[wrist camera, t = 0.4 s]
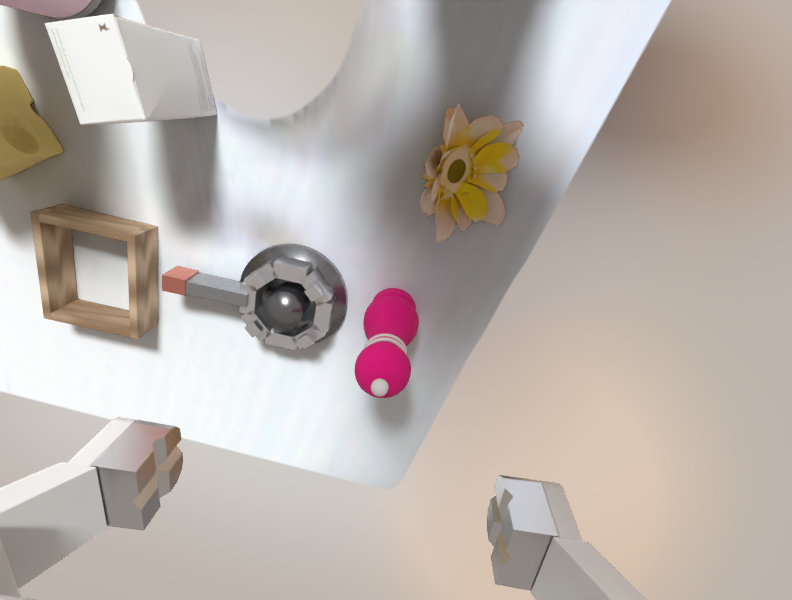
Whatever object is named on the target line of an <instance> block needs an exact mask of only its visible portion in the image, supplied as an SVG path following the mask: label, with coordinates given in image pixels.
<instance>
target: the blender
mask: <svg viewBox="0 0 792 600" xmlns="http://www.w3.org/2000/svg"><path fill="white" fill-rule="evenodd" d="M101 1H102V0H0V5H4V6H7V7H11V8H15V9H19V10H23V11H28V12H32V13H36V14H41V15H44V16H47V17H51V18H54V19H59V20H71V19H78V18H83V17H85V16H87V15H89V14H90V13H92V12H93V11H94V10H95V9H96V8H97V7H98V5H99V4H100V2H101Z"/></svg>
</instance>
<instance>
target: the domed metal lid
mask: <svg viewBox="0 0 792 600" xmlns="http://www.w3.org/2000/svg"><path fill="white" fill-rule="evenodd" d="M280 256H286V257H290V258H294V259H299V260H303V261H307V262H312V269H313V268H314V267H316V266H318V268H319V269H320V270H321V272H322V273H323V274H324V276H325V277H326V279H327V280H328V281H329V283H330V284H331V285H332V287H333V288H334V290H335V293H334V295H336V302H335V307H334V313H333V318H332V323H331V325H330V327H329V330H328V332H326V334H325V336H324V337H322V338H320V339H319V340H317V341H315V342H314V343H317V342H319V341H321V340H324V339H325V338H327V337H328V336H330V335H331V334H332V333H333V332H334V331H335V330H336V329H337V328H338V326H339V325H340V323H341V321H342V319H343V317H344V314H345V311H346V308H347V290H346V286H345V283H344V280H343V278H342V276H341V274H340V273H339V271H338V269H337V268H336V267H335V266H334V264H333V263H332V262H331V261H330V260H329V259H328V258H326V257H325V256H324V255H322V254H321V253H319V252H317V251H316V250H313V249H311V248H309V247H306V246H302V245H297V244H280V245H275V246H272V247H269V248H267V249H265V250H263V251H261V252H260V253H259V254H257V255H256V256H255V257H254V258H253V259H252V260H251V261H250V262H249V263H248V264H247V266H246V267H245V269H244V271H243V273H242V276H241V280H240V282H244V279H245V278H246V277H247V276H248V275H249V274H250V273H252V272H253V271H254V270H256V269H257V268H259V267H260V266H262V265H264V264H265V263H267V262H268V261H270V260H271V259H273V258H274V257H277V258H279V257H280ZM305 290H306V289H305V288H304V287H303V285H302V284H300V283H296V282H291V281H287V280H282V279H278V278H275V279H273V280H272V281H270V282H269V283H267V284H265V285H264V289H263V299H262V304H263V308H262V313H263V317H264V319H265V321H266V322H267V323H268V324H269V325H270V326H271V327H273V328H275V329H277V330H281V331H287V330H291V329H293V328H295V327H301V326H303V325H305V324H306V323H308V322H310V321H311V320H313V319H314V317H315V311H316V305H317V304H316V303H315V301H312V302H311V300H310V299H309V298H308V296H307V295H306V294H305V292H304V291H305Z"/></svg>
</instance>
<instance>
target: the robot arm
mask: <svg viewBox="0 0 792 600" xmlns="http://www.w3.org/2000/svg"><path fill="white" fill-rule="evenodd" d="M180 440H181V433H180V429H179V428H178V427H176V426H170V425H164V424H159V423H153V422H147V421H142V420H133V419H128V418H122V417H118V418H115V419H113V420H111V421H110V422H109V423H108V424H107V425H106V426H105V427H104V428H103V429H102V430H101V431H100V432H99V433H98V434H97V435H96V436H95V437H94V438H93V439H92V440H91V441H89V442H88V444H86V445H85V446H84V447H83V448H82V449H81V450H80V451H79V452H78V453H77V454H76V455H75V456H74V457H73V458H72V459H71V460H70V461H69V462H68V463H64V462H60V463H58V464H55V465H53V466H51V467H48V468H46V469H43V470H41V471H39V472H37V473H34V474H32V475H29V476H27V477H25V478H22V479H20V480H18V481H15V482H13V483H11V484H8V485H6V486H4V487H1V488H0V600H34V599H28V598H21V595H20V592H19V588H20V587H22V586H23V585H25V584H26V583H28V582H29V581H31V580H32V579H34V578H35V577H37V576H38V575H40V574H41V573H42V572H44V571H45V570H47V569H48V568H50V567H51V566H53V565H54V564H56V563H57V562H58V561H60V560H62V559H63V558H64V557H66V556H67V555H69V554H70V553H72V552H73V551H75V550H76V549H78V548H79V547H80V546H82V545H83V544H85V543H86V542H88V541H89V540H91V539H92V538H94V537H95V536H97V535H98V534H99V533H101V532H103V531H104V530H105V529H107V526H112V527H121V528H129V529H137V530H144V529H145V528H146V527H147V525H148V523H149V522H150V521H151V519H152V518H153V517H154V515H155V514H156V512H157V511H158V509H159V508H160V500H159V498H160V497H162V496H164V495H165V494H167V493H169V492H170V491H171V490H172V489H173V487H174V486H175V484H176V483H177V480H178V478H179V475H180V473H181V470H182V463H183V455H182V452H181V451H180V449H179V448H178V447H177V444H178V443H179V442H180ZM495 492H496V496H495V497H494V498H492V499H491V500H490V504H489V508H488V515H487V532H488V539H489V541H490V542H491V543H492V545H493V546H494V549H493V552H492V556H491V560H492V566H493V573H494V580H495V584H498V585H503V586H508V587H514V588H519V589H525V590H530V591H531V594H532V595H533V596H534V598H535V599H536V600H647V599H646V598H645V597H644V596H643V595H642V594H641V593H640V592H639V591H638V590H637V589H636V588H635V587H633V585H632V584H631V583H630V582H629V581H628V580H627V579H626V578H625V577H624V576H623V575H622V574H621V573H620V572H619V571H618V570H616V568H615V567H614V566H613V565H611V563H609V562H608V561H607V560H606V559H605V558H604V557H603V556H602V555H601V554H600V553H599V552H598V551H597V550H596V549H595V548H594V547H593V546H592V545H591V544H590V543H589V542H585V541H583V540H582V538H581V535H580V533H579V530H578V527H577V524H576V522H575V519H574V516H573V514H572V511H571V509H570V506H569V503H568V500H567V498H566V495H565V493H564V490H563V487H562V486H561V485H560V484H559V483H554V482H546V481H537V480H530V479H524V478H517V477H509V476H503V475H499V477H498V478H497V480H496V484H495Z"/></svg>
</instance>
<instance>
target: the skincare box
mask: <svg viewBox="0 0 792 600" xmlns="http://www.w3.org/2000/svg"><path fill="white" fill-rule="evenodd" d="M45 26H46V29H47V31H48V34H49V37H50V40H51V42H52V45H53V48H54V51H55V54H56V56H57V59H58V62H59V65H60V68H61V71H62V73H63V76H64V79H65V82H66V85H67V88H68V90H69V93H70V96H71V99H72V102H73V105H74V108H75V110H76V113H77V116H78V119H79V122H80V124H81V125H95V124H115V123H130V122H145V121H159V120H173V119H187V118H197V117H205V116H213V115H217V111H216V107H215V102H214V98H213V94H212V89H211V85H210V80H209V76H208V72H207V67H206V63H205V59H204V54H203V50H202V46H201V43H200V41H199V40H198V39H194V38H191V37H188V36H184V35H180V34H177V33H173V32H170V31H166V30H163V29H159V28H155V27H152V26H149V25H145V24H142V23H138V22H135V21H131V20H127V19H124V18H121V17H119V16H116V15H114V14H107V15H99V16H92V17H85V18H78V19H71V20H64V21H57V22H50V23H45Z"/></svg>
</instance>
